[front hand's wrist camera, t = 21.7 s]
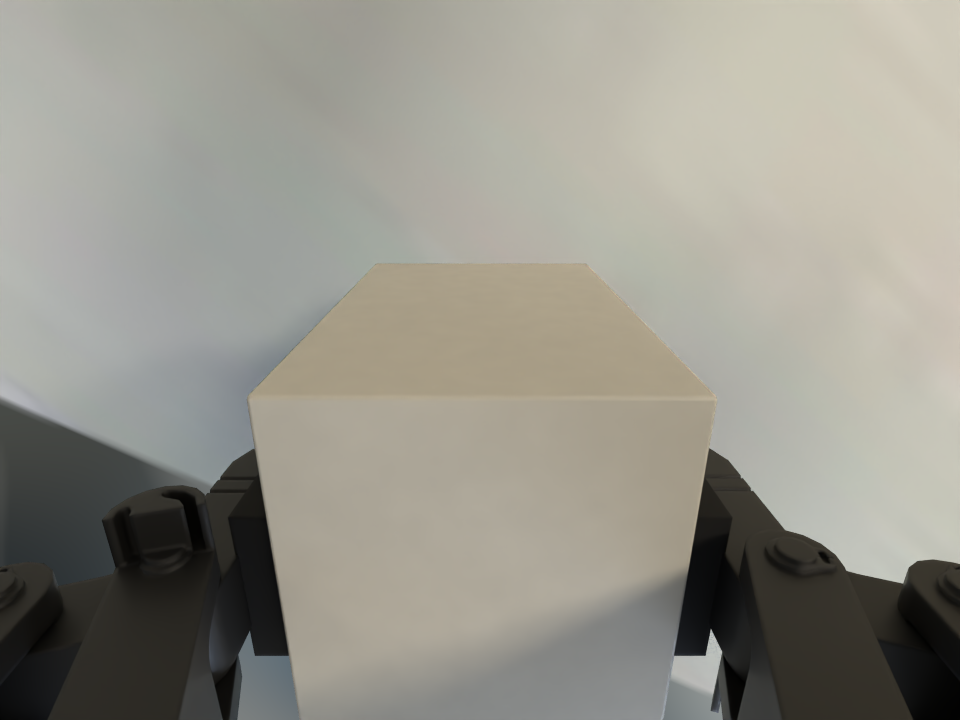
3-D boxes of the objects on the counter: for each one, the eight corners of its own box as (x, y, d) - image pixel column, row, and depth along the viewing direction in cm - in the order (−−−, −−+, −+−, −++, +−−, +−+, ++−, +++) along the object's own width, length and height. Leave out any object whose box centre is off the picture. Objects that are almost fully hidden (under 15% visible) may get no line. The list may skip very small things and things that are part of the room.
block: (375, 263, 15) (243, 396, 7) (587, 263, 15) (719, 396, 7) (390, 484, 18) (308, 781, 9) (571, 484, 18) (654, 781, 9)
